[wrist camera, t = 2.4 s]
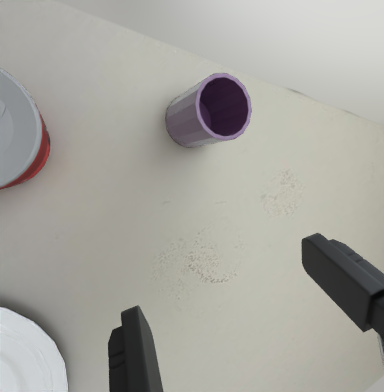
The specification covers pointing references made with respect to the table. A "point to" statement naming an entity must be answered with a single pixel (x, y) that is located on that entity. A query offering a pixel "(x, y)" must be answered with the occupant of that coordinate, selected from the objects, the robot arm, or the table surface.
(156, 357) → the robot arm
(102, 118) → the table surface
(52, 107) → the table surface
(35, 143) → the canned food
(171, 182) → the table surface
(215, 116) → the cup
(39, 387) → the plate
